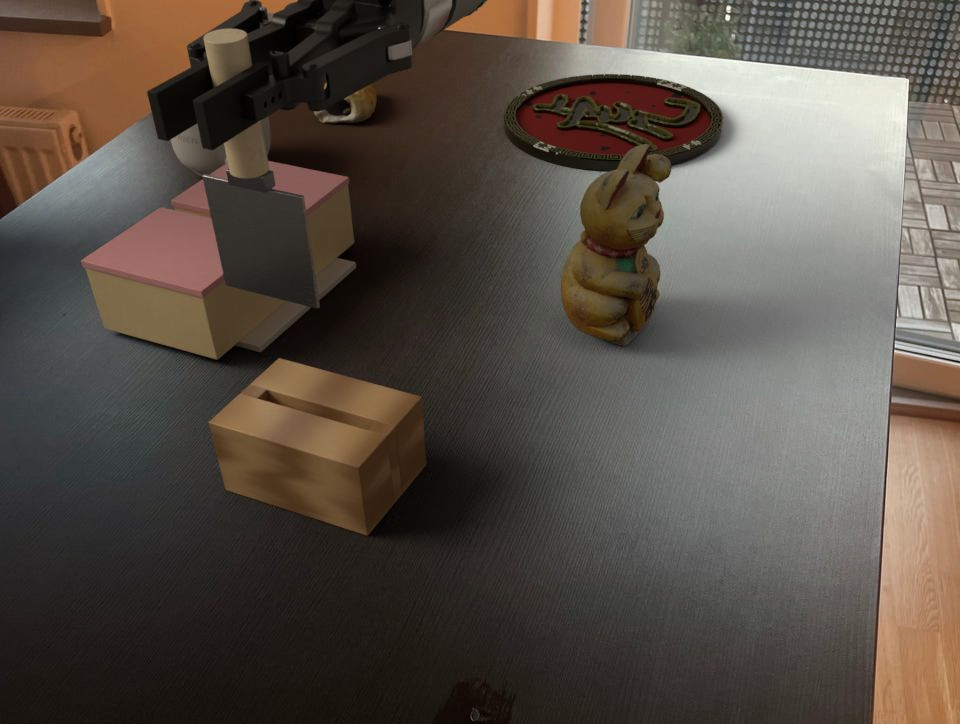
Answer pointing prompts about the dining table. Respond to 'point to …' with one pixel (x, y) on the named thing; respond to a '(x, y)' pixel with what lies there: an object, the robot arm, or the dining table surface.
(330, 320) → the dining table surface
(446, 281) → the dining table surface
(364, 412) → the knife block
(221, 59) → the knife
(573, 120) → the decorative plate
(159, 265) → the cake
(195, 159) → the teacup
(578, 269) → the decorative figurine
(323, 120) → the pastry
